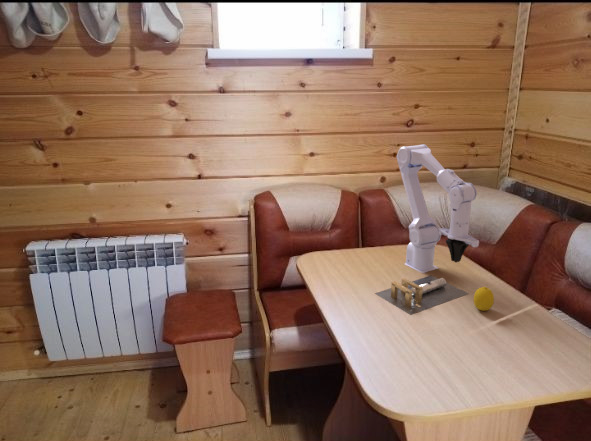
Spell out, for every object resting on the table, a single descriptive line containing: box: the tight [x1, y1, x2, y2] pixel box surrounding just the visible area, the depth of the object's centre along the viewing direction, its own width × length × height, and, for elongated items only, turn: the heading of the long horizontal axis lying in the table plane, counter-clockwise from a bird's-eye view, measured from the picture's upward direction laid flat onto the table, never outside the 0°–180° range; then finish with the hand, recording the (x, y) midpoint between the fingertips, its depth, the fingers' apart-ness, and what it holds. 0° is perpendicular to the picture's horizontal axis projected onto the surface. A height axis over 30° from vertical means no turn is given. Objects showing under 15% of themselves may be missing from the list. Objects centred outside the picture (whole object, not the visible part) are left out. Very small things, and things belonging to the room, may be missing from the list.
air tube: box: [411, 277, 447, 296], centre depth 151 cm, size 13×3×3 cm, turn 121°
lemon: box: [473, 286, 495, 312], centre depth 139 cm, size 6×6×8 cm
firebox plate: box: [374, 275, 470, 316], centre depth 150 cm, size 16×25×5 cm, turn 121°
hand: (455, 260), depth 155 cm, fingers closed
